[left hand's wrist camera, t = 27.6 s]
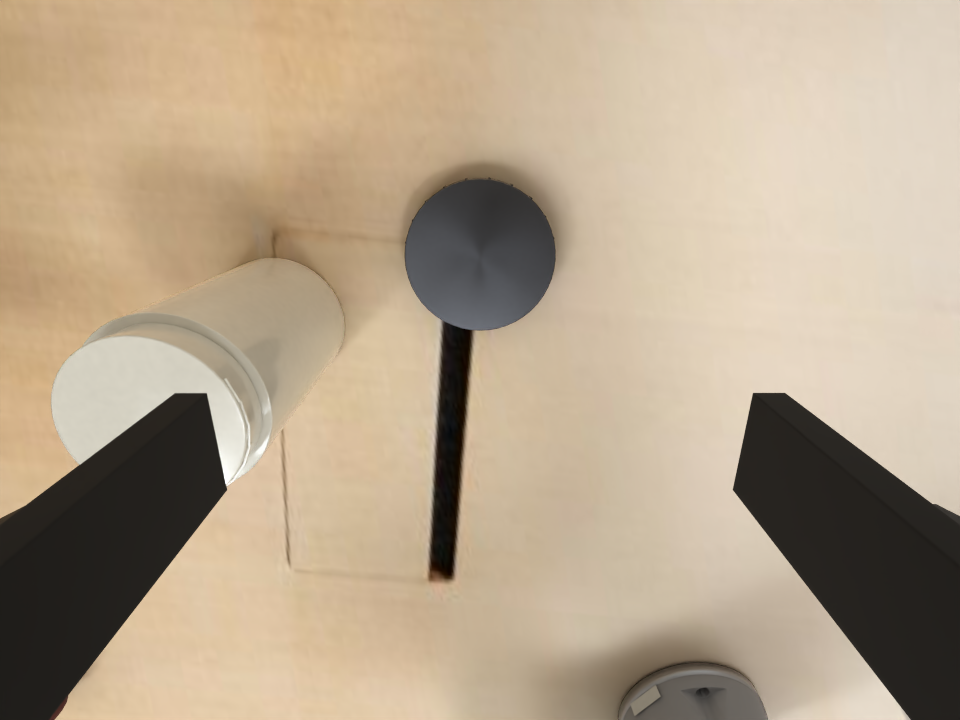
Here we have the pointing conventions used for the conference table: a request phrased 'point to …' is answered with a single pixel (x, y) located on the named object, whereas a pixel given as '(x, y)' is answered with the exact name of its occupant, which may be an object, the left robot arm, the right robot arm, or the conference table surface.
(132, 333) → the jar
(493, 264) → the lid
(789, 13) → the conference table surface
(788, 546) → the left robot arm
